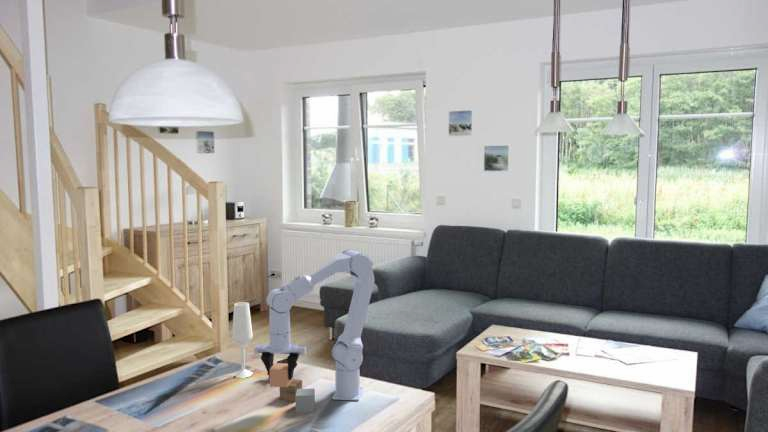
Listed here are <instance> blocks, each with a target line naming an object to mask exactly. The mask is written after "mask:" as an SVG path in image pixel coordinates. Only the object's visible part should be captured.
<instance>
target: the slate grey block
mask: <svg viewBox="0 0 768 432" xmlns="http://www.w3.org/2000/svg"><path fill="white" fill-rule="evenodd" d="M315 393H316V389H315V388H302V389H297V392H296V395H295V402H294V403H295V413H314V410H315V406H316V403H315V402H316V398H315V397H316V396H315V395H316V394H315Z"/></svg>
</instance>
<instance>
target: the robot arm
mask: <svg viewBox="0 0 768 432" xmlns="http://www.w3.org/2000/svg"><path fill="white" fill-rule="evenodd" d="M373 265H374V262H373V261H372V259H371V258H370V256H369V255H368V254H366V253H364V252H360V251H356V250H354V249H352V248H346V249H344V250H343V251H342V252H339V253H337V254H335V255H334V257H333V258H331V259H330V260H328V261H327V262H326V263H324V264H323V265H321V266H320V267H318V268H316V269H315V270H314V271H312V272H311V273H310V274H308V275H307V274H300V275H299V274H297V275H295V276H294V278H293V279H292V280H291V281H289V282H288V283H285V284H282V285H280V288H274V289H272V290H270V292H268V294H267V297H266V298H265V303H266V304H267V306H268V310H269V316H268V317H269V318H268V319H269V344H257V345H255V346H254V349H253V350H254V354H255V355H258V354H261V356H260V360H261V361H262V363H263V365H264V366H265V367H266V368H265V367H264V368H265V369H266V371H267V373H268V379H269V380H270V370H269V369H270V368H271V367H272V366H273V365H274V360H275V359H274V358H275V357H274V356H275V355H280V354H281V355H288V356H287V357H286V358H287V361H288V379H289V380H291V379H294V378H293V377H294V370H295V365H296V363H297V361H298V360H299V357H300V355H301V356H306V354H307V346H301V345H296V344H291V314H290V310H291V309H292V307H293V305H294V303H296V302H298V301H299V300H301V299H303V298H304V297H306V296H307V295H309V294H311V293H312V292H314V287H315V286H316V285H317V284H319V283H321V282H323V281H324V280H326V279H328V278H330V277H332V276H334V275H335V274H337V273H345V274H350V276H351V277H352V279H353V280H354V282H355V284H354V289H353V292H352V293H353V294H352V296H351V302H350V304H349V309H348V312H347V317H346V322H345V325H344V328H343V332H342V333H341V334H340V335H339V336H338V338H337V341H336V343H335V344H334V345H333V347H332V350H331V355H332V357H333V359H334V360H335V364H334V365H335V366H334V367H335V370H334V371H335V379H334V380H335V391H334V393H333V395H332V397H331V398H332V400H336V401H360V397H361V395H362V392H363V390H364V387H363V386H360V385H361V384H360V383H361V381H360V378H361V376H360V374H361V373H360V371H361V370H360V366H361V365H362V363H363V359H364V355H363V349H364V345H363V342H362V337H361V336H362V333H363V329H364V326H365V325H364V324H365V323H366V322H365V321H366V317H367V313H368V310H369V305H370V302H371V301H370V300H371V297H372V293H373V290H374V285H375V281H376V280H375V275H374V271H373V270H374V269H373Z"/></svg>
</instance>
